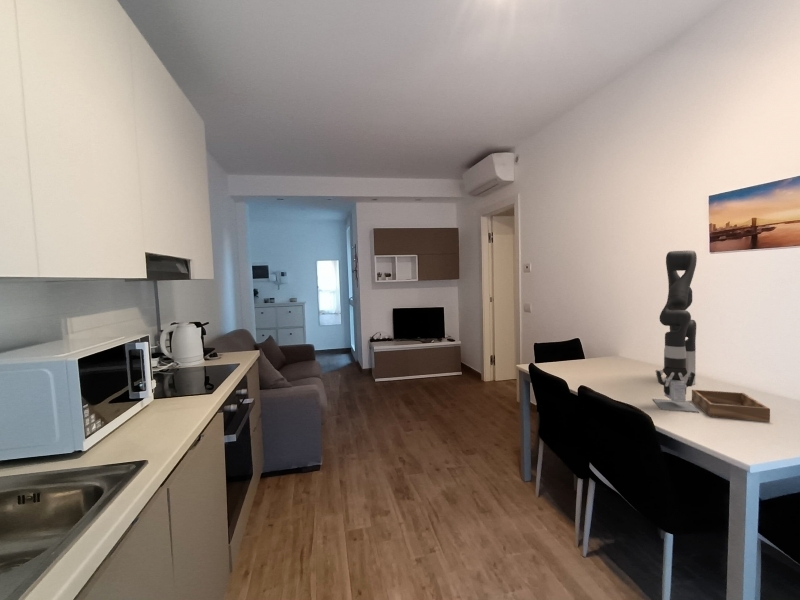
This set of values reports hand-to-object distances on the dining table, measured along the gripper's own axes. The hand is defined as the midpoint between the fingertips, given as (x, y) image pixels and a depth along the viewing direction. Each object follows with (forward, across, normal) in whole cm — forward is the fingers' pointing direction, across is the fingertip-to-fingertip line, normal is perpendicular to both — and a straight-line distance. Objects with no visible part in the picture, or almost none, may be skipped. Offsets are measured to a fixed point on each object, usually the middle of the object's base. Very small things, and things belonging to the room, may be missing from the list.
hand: (674, 394), depth 156 cm
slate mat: (+5, 0, 0) cm, 5 cm away
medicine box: (+2, 0, 0) cm, 2 cm away
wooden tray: (+5, -18, 0) cm, 19 cm away
